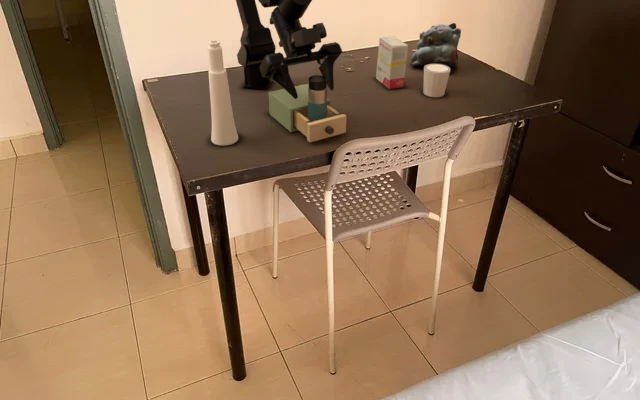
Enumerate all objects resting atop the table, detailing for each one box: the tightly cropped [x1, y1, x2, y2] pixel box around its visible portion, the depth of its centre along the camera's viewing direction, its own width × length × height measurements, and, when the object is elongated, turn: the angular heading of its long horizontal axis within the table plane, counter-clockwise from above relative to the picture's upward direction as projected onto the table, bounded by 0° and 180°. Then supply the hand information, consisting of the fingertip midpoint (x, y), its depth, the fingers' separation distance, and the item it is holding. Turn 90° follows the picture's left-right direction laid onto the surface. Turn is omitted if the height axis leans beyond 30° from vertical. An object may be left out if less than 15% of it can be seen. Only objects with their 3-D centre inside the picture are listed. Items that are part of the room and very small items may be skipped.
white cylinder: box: [422, 64, 451, 98], centre depth 134 cm, size 7×7×7 cm
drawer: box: [293, 105, 347, 143], centre depth 115 cm, size 12×10×4 cm
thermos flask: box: [308, 74, 328, 123], centre depth 113 cm, size 4×4×11 cm
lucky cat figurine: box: [410, 22, 462, 68], centre depth 150 cm, size 15×12×14 cm
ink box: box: [375, 36, 409, 90], centre depth 138 cm, size 9×5×12 cm, turn 19°
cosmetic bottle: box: [207, 39, 239, 147], centre depth 107 cm, size 6×6×22 cm
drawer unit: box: [268, 83, 332, 133], centre depth 121 cm, size 11×11×6 cm
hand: (314, 93), depth 113 cm, fingers open, 9 cm apart
